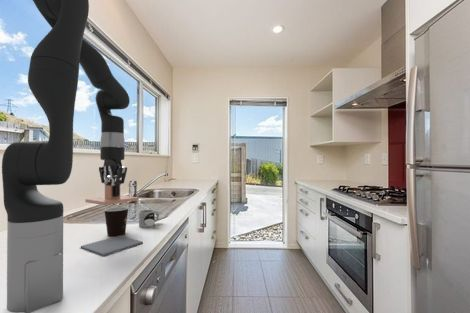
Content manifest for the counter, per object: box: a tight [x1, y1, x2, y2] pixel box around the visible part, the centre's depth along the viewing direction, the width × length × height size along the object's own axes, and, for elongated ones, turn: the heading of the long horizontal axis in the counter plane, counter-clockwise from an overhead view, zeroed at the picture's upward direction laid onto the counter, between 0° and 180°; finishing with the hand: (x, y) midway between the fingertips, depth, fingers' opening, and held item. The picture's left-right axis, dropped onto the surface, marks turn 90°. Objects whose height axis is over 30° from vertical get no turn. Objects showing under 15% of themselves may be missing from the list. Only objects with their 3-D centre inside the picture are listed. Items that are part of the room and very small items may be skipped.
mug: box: [138, 209, 160, 229], centre depth 114 cm, size 10×7×7 cm, turn 148°
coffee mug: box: [104, 206, 129, 238], centre depth 101 cm, size 12×9×10 cm
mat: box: [80, 235, 144, 257], centre depth 86 cm, size 14×14×1 cm
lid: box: [84, 185, 139, 206], centre depth 87 cm, size 12×12×6 cm
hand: (112, 195), depth 87 cm, fingers closed on lid, 3 cm apart
